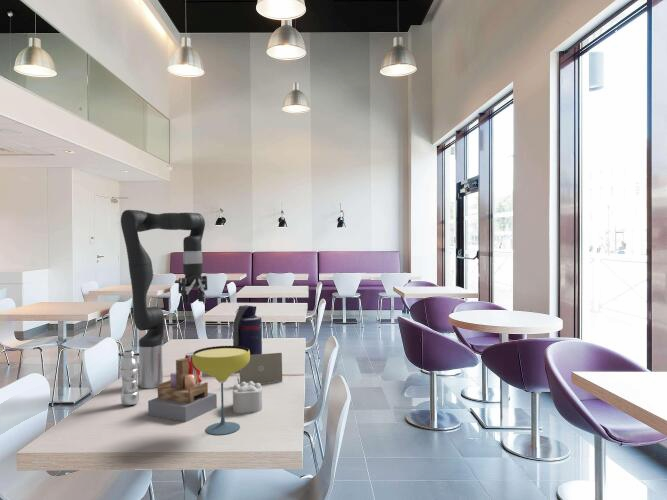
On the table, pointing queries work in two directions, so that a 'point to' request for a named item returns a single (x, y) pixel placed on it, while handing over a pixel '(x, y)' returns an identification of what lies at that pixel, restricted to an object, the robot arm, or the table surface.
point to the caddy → (181, 386)
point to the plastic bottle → (129, 379)
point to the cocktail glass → (221, 375)
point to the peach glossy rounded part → (189, 381)
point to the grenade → (248, 329)
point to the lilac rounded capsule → (173, 380)
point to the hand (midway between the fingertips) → (193, 302)
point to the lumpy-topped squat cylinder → (247, 397)
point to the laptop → (262, 369)
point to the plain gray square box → (182, 407)
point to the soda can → (193, 369)
